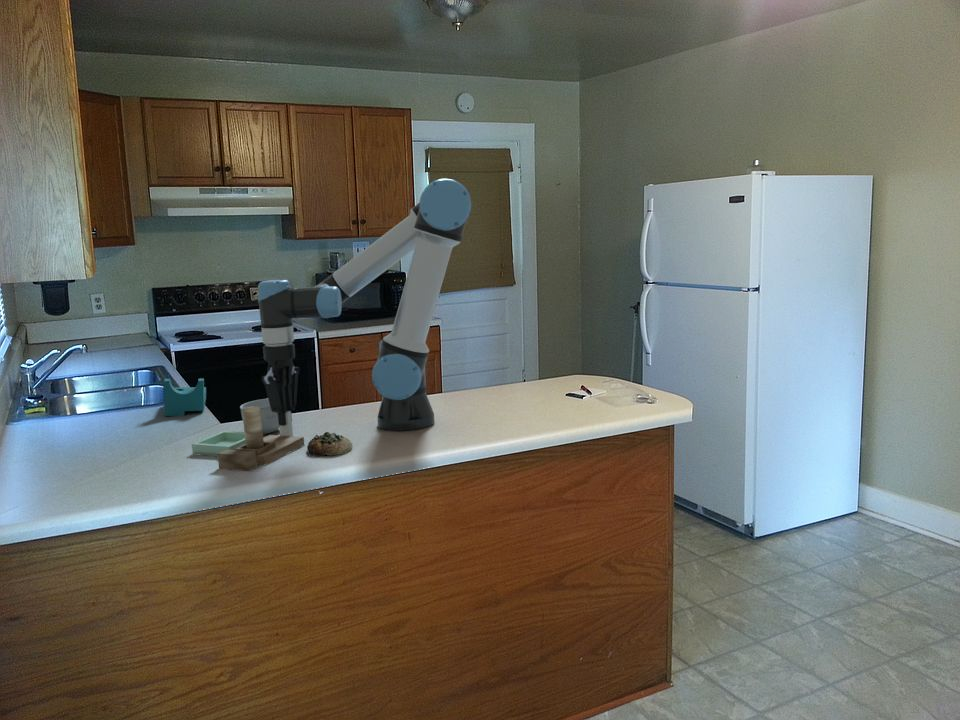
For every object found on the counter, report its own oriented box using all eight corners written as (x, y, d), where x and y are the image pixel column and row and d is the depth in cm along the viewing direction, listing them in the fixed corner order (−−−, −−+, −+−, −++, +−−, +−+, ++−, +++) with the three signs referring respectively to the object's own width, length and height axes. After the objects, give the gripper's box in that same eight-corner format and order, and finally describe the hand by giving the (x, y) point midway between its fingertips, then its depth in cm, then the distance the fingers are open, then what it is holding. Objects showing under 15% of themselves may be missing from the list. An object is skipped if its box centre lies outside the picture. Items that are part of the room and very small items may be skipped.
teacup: (273, 437, 197) (270, 407, 196) (234, 437, 200) (231, 407, 198) (296, 423, 211) (294, 395, 209) (260, 423, 213) (257, 395, 212)
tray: (260, 442, 193) (260, 433, 192) (230, 456, 182) (229, 446, 181) (224, 440, 197) (223, 430, 196) (192, 454, 186) (191, 444, 185)
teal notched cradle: (203, 415, 228) (203, 380, 226) (164, 416, 225) (163, 381, 223) (206, 402, 245) (205, 370, 243) (169, 403, 242) (169, 370, 240)
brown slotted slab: (304, 446, 189) (303, 432, 189) (265, 466, 175) (263, 451, 174) (270, 444, 193) (269, 430, 192) (229, 463, 178) (227, 448, 178)
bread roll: (297, 451, 184) (298, 430, 183) (335, 446, 192) (336, 426, 192) (325, 461, 177) (326, 440, 176) (363, 456, 185) (364, 435, 184)
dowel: (267, 447, 181) (263, 406, 179) (258, 452, 177) (253, 410, 176) (252, 447, 182) (248, 406, 180) (243, 452, 178) (238, 410, 177)
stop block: (256, 466, 173) (255, 451, 173) (248, 470, 171) (247, 455, 170) (227, 464, 176) (225, 449, 176) (219, 468, 173) (217, 453, 173)
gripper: (281, 339, 195) (288, 429, 199) (249, 347, 183) (258, 443, 187) (306, 339, 192) (313, 430, 196) (275, 348, 180) (284, 445, 184)
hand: (286, 436), depth 192 cm, fingers closed
